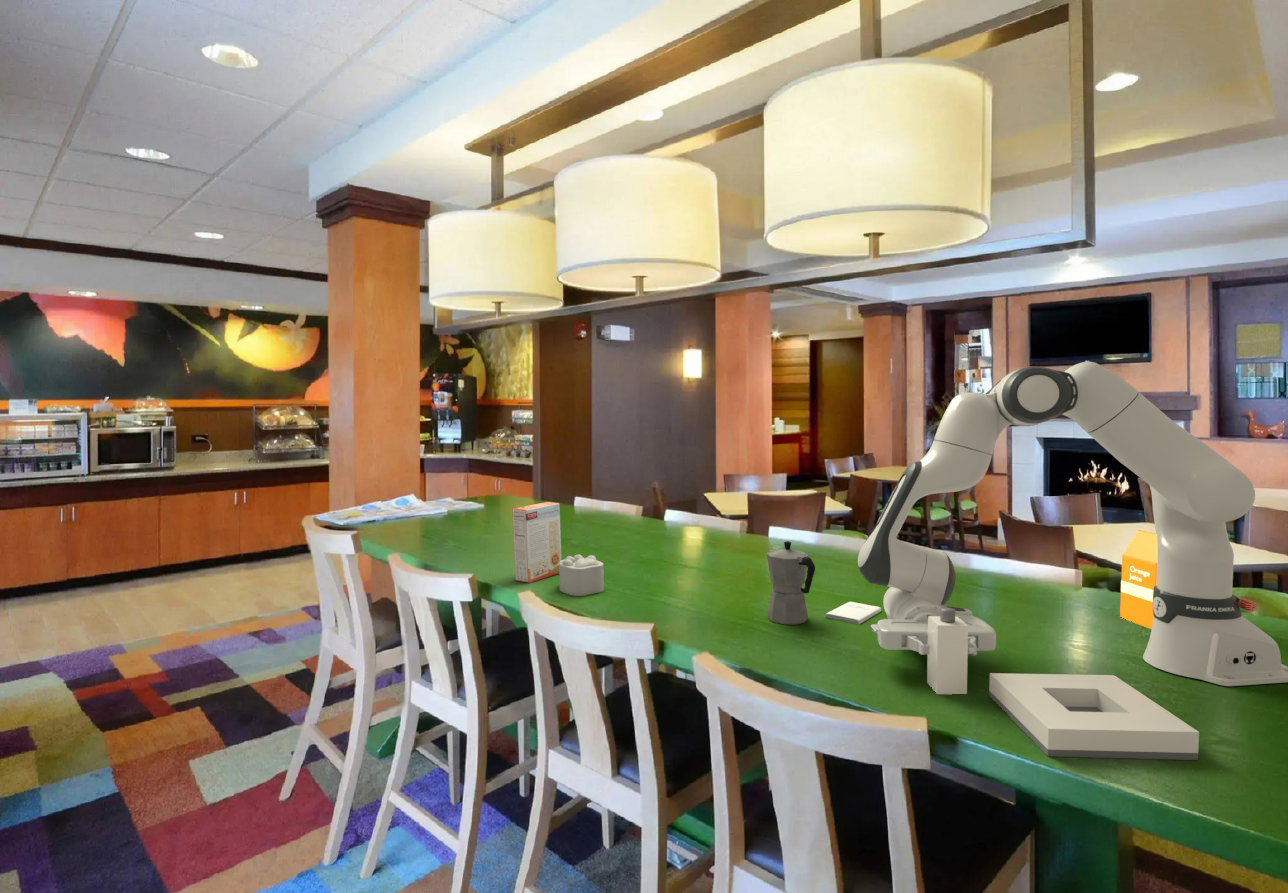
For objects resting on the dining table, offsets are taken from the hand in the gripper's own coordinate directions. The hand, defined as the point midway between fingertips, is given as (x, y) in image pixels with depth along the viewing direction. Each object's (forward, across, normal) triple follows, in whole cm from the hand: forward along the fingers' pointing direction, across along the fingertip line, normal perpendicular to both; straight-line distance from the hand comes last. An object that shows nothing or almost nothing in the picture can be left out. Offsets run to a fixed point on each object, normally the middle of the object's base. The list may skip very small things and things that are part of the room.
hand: (949, 650), depth 121 cm
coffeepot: (-38, -22, +7) cm, 44 cm away
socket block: (+12, +16, +7) cm, 21 cm away
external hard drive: (-43, -7, +8) cm, 44 cm away
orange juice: (-39, +57, +7) cm, 69 cm away
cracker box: (-75, -89, +7) cm, 117 cm away
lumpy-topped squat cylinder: (-63, -75, +7) cm, 98 cm away
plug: (-1, 0, +7) cm, 7 cm away
